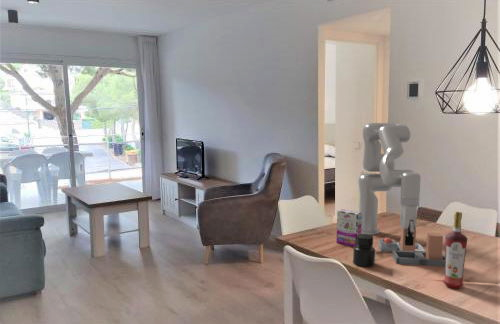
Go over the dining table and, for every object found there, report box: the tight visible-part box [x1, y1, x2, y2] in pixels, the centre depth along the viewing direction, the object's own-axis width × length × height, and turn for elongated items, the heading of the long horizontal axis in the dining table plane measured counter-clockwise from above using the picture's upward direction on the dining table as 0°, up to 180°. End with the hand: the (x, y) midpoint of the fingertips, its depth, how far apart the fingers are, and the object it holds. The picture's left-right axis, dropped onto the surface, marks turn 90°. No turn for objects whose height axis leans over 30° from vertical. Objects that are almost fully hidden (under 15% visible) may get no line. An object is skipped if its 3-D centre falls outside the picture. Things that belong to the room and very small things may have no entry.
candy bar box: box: [336, 209, 362, 248], centre depth 205 cm, size 11×5×16 cm, turn 47°
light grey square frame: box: [396, 242, 426, 252], centre depth 196 cm, size 11×11×2 cm
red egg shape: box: [384, 237, 392, 243], centre depth 197 cm, size 3×3×4 cm
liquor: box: [442, 211, 468, 290], centre depth 156 cm, size 7×7×28 cm
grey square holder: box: [378, 238, 398, 254], centre depth 197 cm, size 7×7×4 cm
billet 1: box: [399, 225, 417, 252], centre depth 181 cm, size 5×5×12 cm
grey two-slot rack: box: [391, 250, 445, 267], centre depth 182 cm, size 21×10×3 cm, turn 82°
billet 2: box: [425, 231, 444, 260], centre depth 180 cm, size 5×5×12 cm
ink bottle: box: [352, 234, 376, 268], centre depth 180 cm, size 10×9×12 cm
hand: (407, 242), depth 181 cm, fingers closed on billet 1, 5 cm apart
